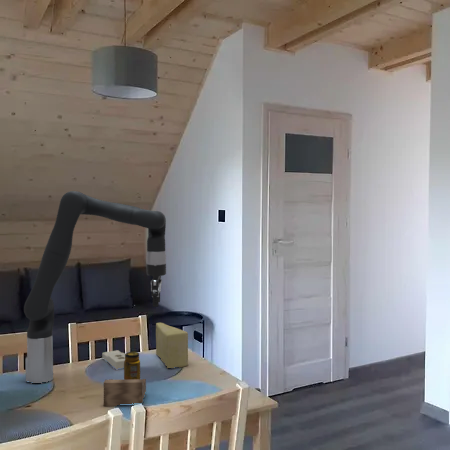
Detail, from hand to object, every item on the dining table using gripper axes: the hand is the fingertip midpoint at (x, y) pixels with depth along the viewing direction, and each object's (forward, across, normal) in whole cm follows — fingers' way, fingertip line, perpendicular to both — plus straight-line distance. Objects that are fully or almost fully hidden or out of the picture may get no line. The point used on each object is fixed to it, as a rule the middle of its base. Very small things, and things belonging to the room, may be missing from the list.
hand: (156, 304), depth 198 cm
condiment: (+30, +7, -9) cm, 32 cm away
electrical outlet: (+30, -20, -18) cm, 40 cm away
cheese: (+30, -22, +3) cm, 37 cm away
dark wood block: (+29, +21, -9) cm, 37 cm away
